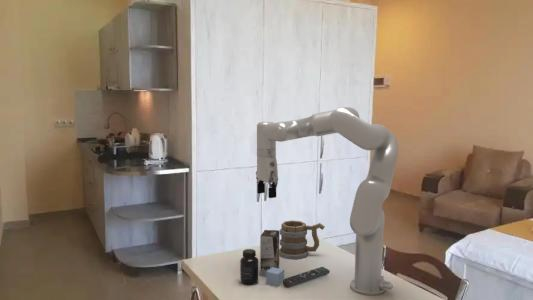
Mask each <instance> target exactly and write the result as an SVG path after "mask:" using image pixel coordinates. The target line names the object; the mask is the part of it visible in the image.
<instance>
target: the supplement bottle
mask: <svg viewBox="0 0 533 300" xmlns="http://www.w3.org/2000/svg"><path fill="white" fill-rule="evenodd" d="M256 255H257V253H256V250H255V249H254V248H247V249H244V250H243V251H242V257H241V259H240V260H239V261H240V262H239V264H240V265H239V268H240V269H239V271H240V272H239V273H240V275H239V277H240V278H239V279H240V280H239V281H240V283H241V284H243V285H246V286H248V285H249V286H251V285H256V284H257V283H258V282H259V259H258V257H257V256H256Z"/></svg>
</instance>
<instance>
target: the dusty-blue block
mask: <svg viewBox="0 0 533 300" xmlns="http://www.w3.org/2000/svg"><path fill="white" fill-rule="evenodd" d="M283 280H284V281H285V269H284V268H283V269H282V268H280V267H279V268H275V267H272V268H271V269H269V270H268V271H266V276H265V284H266V285H268V286H272V287H275V288H279V287H280V286H282V285H283V284H282V282H283Z"/></svg>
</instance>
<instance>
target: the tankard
mask: <svg viewBox="0 0 533 300" xmlns="http://www.w3.org/2000/svg"><path fill="white" fill-rule="evenodd" d="M318 229H321V230H322V231H323V230H324V229H325V225H324V224H322V223H321V222H319V223H316V224H313V225H307V224H306V223H305V222H303V221H300V220H287V221H286V220H285V221H283V222H282V223H281V228H280V229H279V231H280V232H279V236H280V239H279V246H280V247H279V257H282V258H283V259H289V260H301V259H305V258H307V256H308V255H309V253H310V252H311V253H312V252H314V253H315V252H317V250H318V248H319V246H320V240H319V236H318V231H317V230H318ZM308 231H311V236H312V240H313V242H314V244H313V246H308V239H307V238H306V237H307V234H308Z"/></svg>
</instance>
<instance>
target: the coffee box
mask: <svg viewBox="0 0 533 300" xmlns="http://www.w3.org/2000/svg"><path fill="white" fill-rule="evenodd" d="M259 239H260V241H259V242H260V243H259V244H260V245H259V246H260V247H259V249H260V251H259V252H260V254H259V255H260V256H259V257H260V258H259V261H260V262H259V276H260V277H266V271H268V270H269V269H271V268H272V267H275V268H279V269H280V255H279V250H280V230H275V229H264V231H263V232H262V234H261V235H260V238H259Z"/></svg>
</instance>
